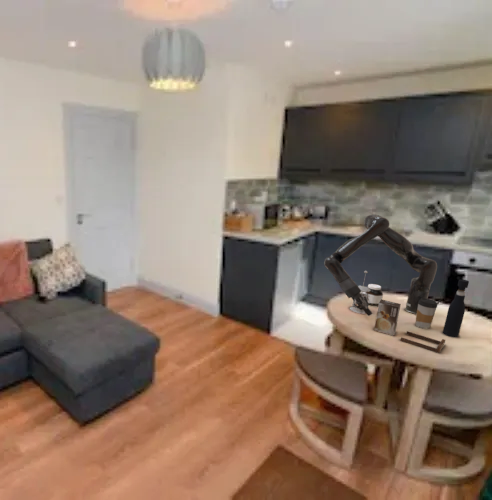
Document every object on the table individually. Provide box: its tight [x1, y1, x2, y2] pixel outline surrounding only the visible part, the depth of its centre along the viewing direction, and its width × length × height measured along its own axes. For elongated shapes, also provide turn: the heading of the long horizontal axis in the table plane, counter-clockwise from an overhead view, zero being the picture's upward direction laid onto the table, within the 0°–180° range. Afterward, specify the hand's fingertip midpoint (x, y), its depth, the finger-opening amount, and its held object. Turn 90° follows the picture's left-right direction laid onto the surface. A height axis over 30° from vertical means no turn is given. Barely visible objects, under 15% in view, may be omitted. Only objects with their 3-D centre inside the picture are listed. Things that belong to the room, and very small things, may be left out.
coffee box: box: [373, 298, 402, 337], centre depth 192 cm, size 9×6×16 cm
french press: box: [349, 270, 371, 315], centre depth 215 cm, size 10×12×25 cm
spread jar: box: [360, 283, 384, 306], centre depth 229 cm, size 12×11×12 cm
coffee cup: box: [415, 298, 438, 330], centre depth 198 cm, size 8×8×15 cm
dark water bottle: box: [442, 278, 470, 338], centre depth 187 cm, size 6×6×30 cm
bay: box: [400, 330, 446, 354], centre depth 182 cm, size 11×16×3 cm
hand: (370, 314), depth 198 cm, fingers closed
